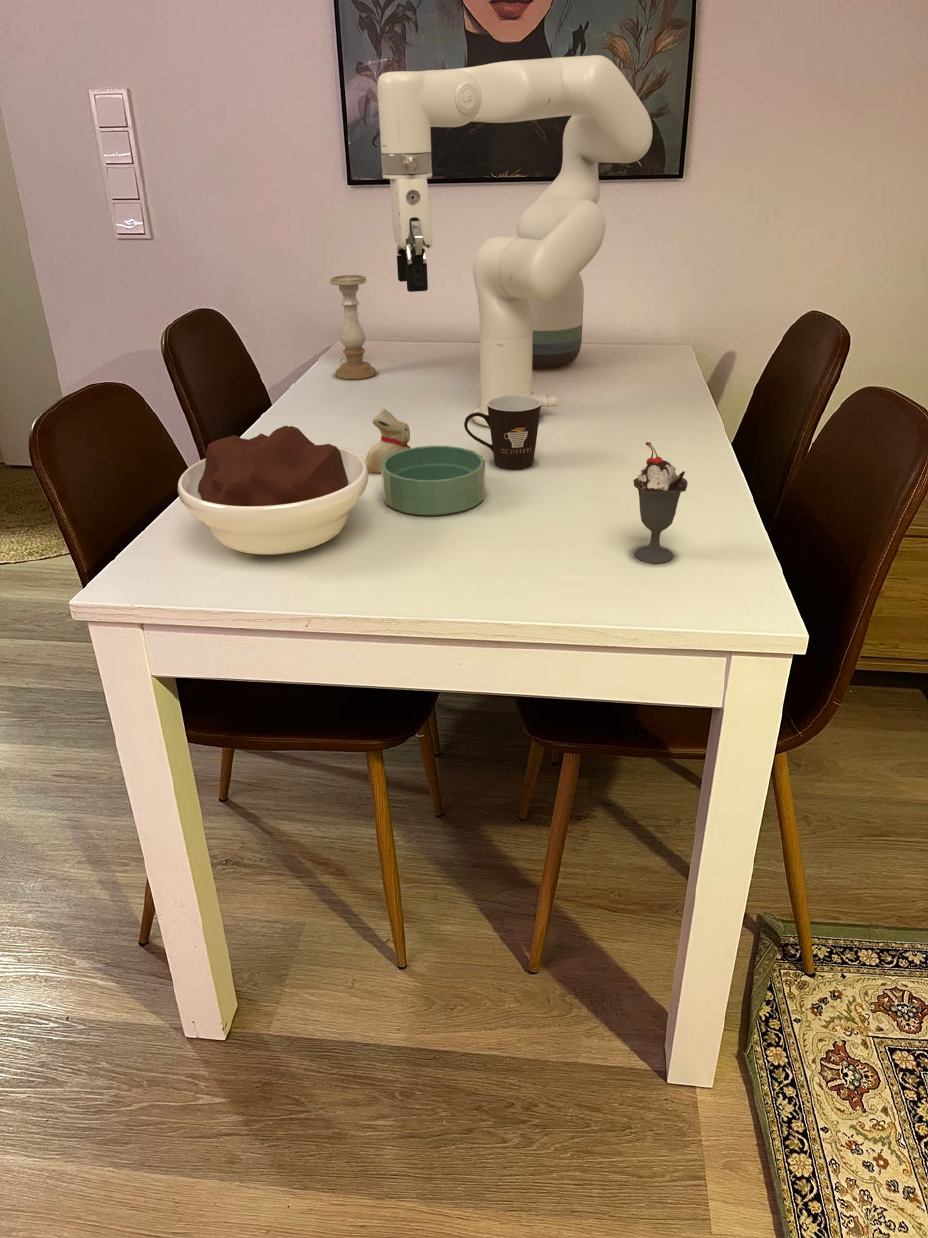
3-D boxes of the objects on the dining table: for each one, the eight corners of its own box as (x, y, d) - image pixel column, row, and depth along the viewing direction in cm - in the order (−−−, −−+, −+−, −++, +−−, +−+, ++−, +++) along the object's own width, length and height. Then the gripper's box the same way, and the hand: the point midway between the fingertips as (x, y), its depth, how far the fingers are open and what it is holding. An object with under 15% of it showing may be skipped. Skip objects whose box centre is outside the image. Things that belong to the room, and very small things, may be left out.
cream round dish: (343, 584, 112) (331, 468, 105) (156, 572, 116) (132, 460, 109) (392, 507, 134) (385, 406, 126) (232, 499, 138) (216, 401, 130)
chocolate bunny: (412, 472, 146) (409, 411, 141) (363, 474, 146) (358, 413, 141) (411, 460, 151) (408, 401, 146) (364, 462, 151) (359, 403, 146)
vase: (531, 351, 215) (532, 242, 203) (594, 360, 206) (599, 247, 194) (491, 367, 203) (490, 252, 191) (556, 377, 194) (559, 257, 182)
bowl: (472, 475, 144) (472, 441, 142) (495, 511, 131) (495, 475, 129) (378, 484, 142) (375, 450, 139) (391, 522, 129) (389, 485, 126)
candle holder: (383, 372, 201) (377, 275, 191) (359, 381, 195) (351, 282, 185) (352, 367, 205) (344, 272, 195) (327, 376, 199) (318, 279, 189)
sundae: (621, 545, 120) (629, 436, 113) (671, 543, 121) (682, 434, 113) (634, 568, 115) (643, 454, 107) (686, 565, 115) (698, 451, 108)
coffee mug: (545, 456, 151) (547, 397, 146) (532, 474, 144) (533, 412, 139) (479, 450, 154) (478, 392, 150) (463, 467, 147) (461, 407, 142)
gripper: (442, 168, 130) (445, 293, 139) (421, 162, 145) (426, 275, 153) (390, 170, 129) (397, 296, 137) (375, 164, 144) (382, 278, 152)
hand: (412, 285), depth 145 cm, fingers open, 9 cm apart
